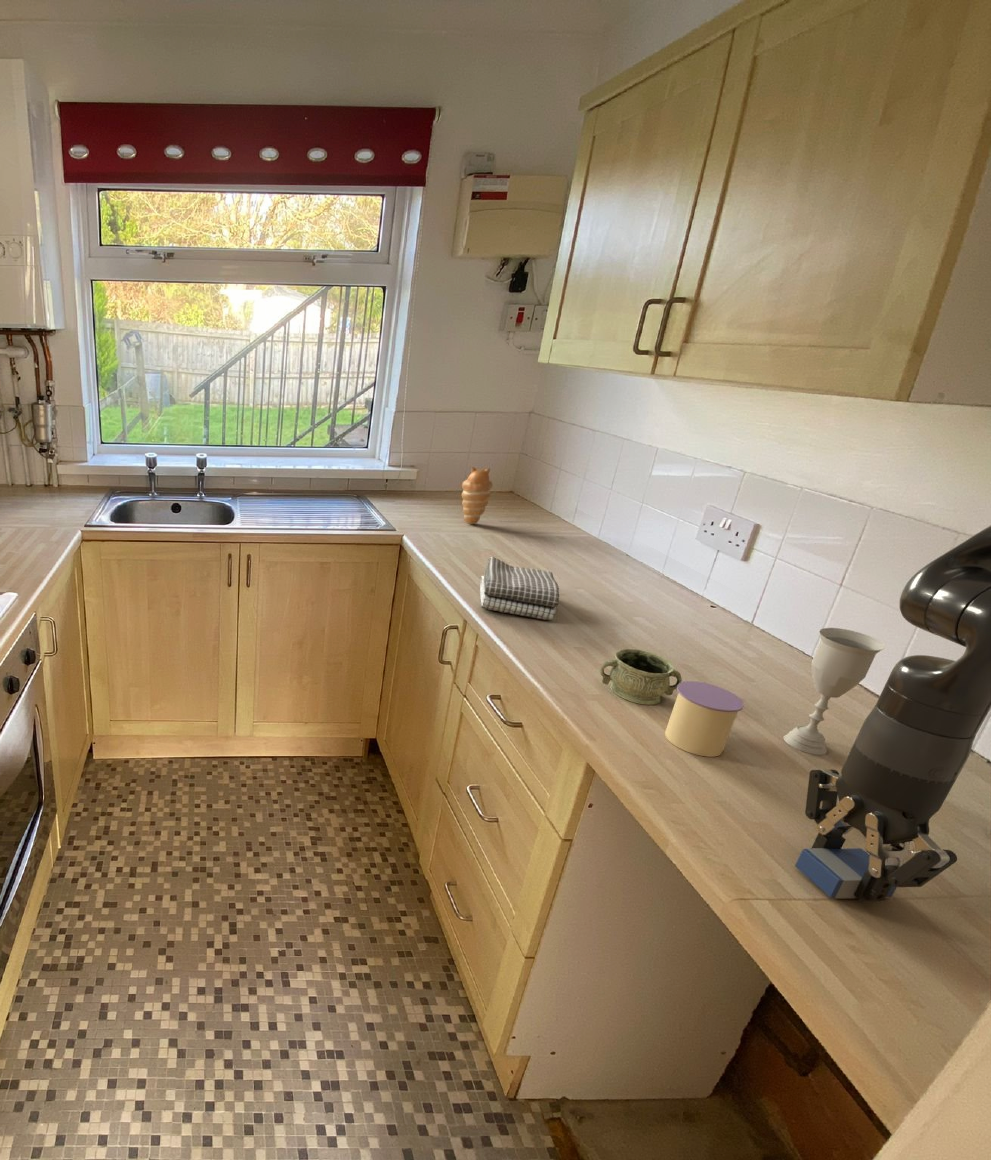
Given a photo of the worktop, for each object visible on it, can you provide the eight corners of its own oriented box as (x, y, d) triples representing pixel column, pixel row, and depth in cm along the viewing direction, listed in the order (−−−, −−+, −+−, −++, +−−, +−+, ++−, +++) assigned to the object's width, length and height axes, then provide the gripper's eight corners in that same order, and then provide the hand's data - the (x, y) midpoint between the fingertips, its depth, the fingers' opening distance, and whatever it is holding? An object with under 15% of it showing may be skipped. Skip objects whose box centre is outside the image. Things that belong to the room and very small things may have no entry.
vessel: (668, 687, 111) (678, 655, 109) (682, 713, 104) (694, 680, 101) (591, 673, 115) (600, 642, 113) (599, 698, 108) (609, 665, 105)
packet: (852, 865, 74) (861, 847, 73) (892, 897, 70) (902, 879, 69) (794, 865, 74) (802, 848, 73) (830, 898, 70) (839, 880, 69)
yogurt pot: (720, 736, 98) (738, 689, 95) (730, 765, 92) (749, 716, 88) (659, 721, 102) (674, 676, 98) (664, 747, 95) (680, 700, 92)
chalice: (825, 764, 92) (876, 655, 85) (768, 740, 97) (811, 635, 91) (841, 748, 96) (891, 641, 89) (785, 725, 101) (829, 623, 94)
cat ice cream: (484, 521, 205) (494, 466, 198) (486, 528, 198) (497, 471, 191) (455, 519, 207) (464, 464, 200) (456, 526, 200) (466, 469, 193)
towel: (479, 613, 139) (485, 579, 136) (478, 583, 155) (484, 553, 152) (556, 624, 134) (564, 590, 131) (547, 593, 150) (554, 562, 147)
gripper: (1024, 803, 59) (943, 935, 65) (872, 715, 72) (817, 832, 79) (946, 804, 59) (872, 936, 65) (808, 715, 72) (758, 832, 78)
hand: (842, 878), depth 72 cm, fingers closed on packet, 4 cm apart
